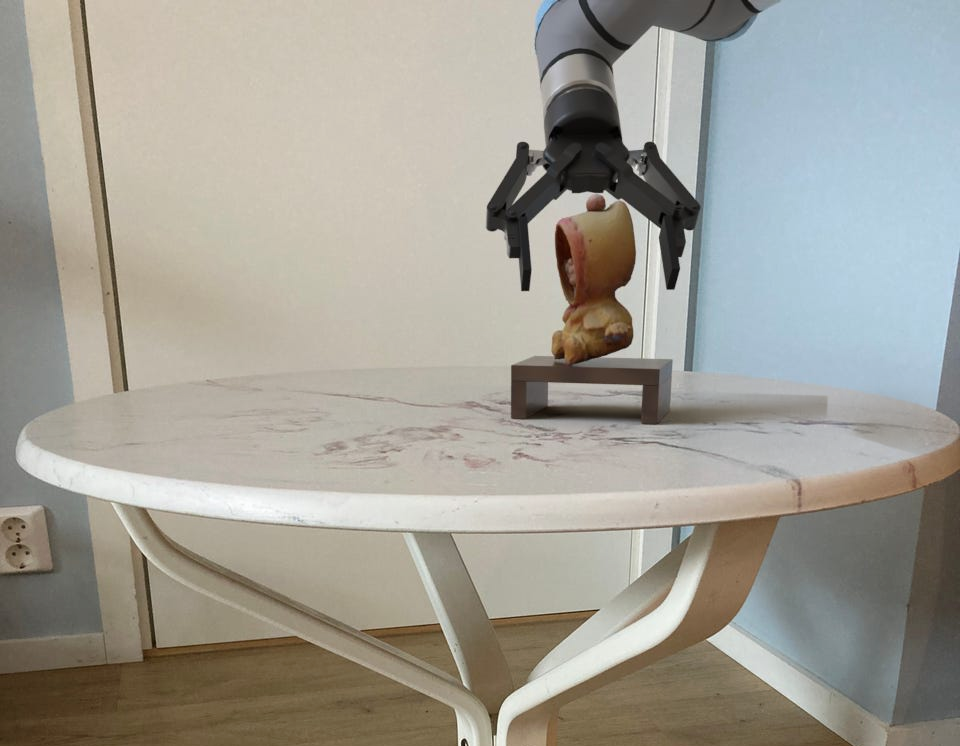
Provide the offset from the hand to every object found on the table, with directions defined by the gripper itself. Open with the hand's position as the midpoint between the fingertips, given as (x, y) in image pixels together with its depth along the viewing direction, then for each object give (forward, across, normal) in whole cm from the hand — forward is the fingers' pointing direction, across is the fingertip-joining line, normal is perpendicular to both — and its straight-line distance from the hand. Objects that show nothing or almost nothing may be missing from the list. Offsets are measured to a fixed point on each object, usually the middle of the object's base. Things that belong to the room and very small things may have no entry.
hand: (600, 280), depth 101 cm
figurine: (+4, 0, -7) cm, 8 cm away
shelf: (+7, 0, -10) cm, 13 cm away
